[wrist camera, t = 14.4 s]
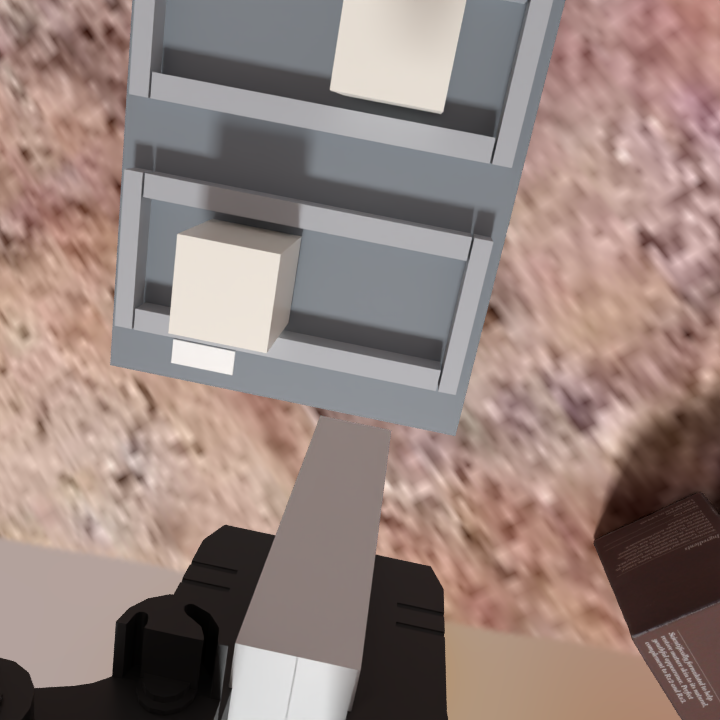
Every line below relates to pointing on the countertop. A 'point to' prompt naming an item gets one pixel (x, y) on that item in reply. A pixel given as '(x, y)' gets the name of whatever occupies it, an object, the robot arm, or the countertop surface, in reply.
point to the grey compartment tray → (325, 198)
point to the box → (672, 599)
